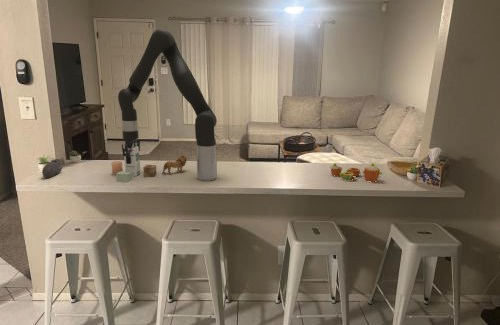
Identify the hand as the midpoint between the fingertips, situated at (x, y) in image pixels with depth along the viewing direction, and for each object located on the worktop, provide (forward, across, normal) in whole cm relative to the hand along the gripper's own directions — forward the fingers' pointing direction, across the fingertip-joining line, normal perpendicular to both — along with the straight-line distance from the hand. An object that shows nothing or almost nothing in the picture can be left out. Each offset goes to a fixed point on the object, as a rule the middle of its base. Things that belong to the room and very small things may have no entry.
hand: (132, 161), depth 181 cm
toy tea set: (+7, +25, -112) cm, 115 cm away
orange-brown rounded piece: (+7, -1, +8) cm, 10 cm away
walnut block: (+7, +1, -9) cm, 11 cm away
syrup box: (+7, 0, 0) cm, 7 cm away
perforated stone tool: (+7, -12, +37) cm, 40 cm away
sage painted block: (+7, -10, -1) cm, 12 cm away
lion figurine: (+7, +9, -19) cm, 22 cm away
